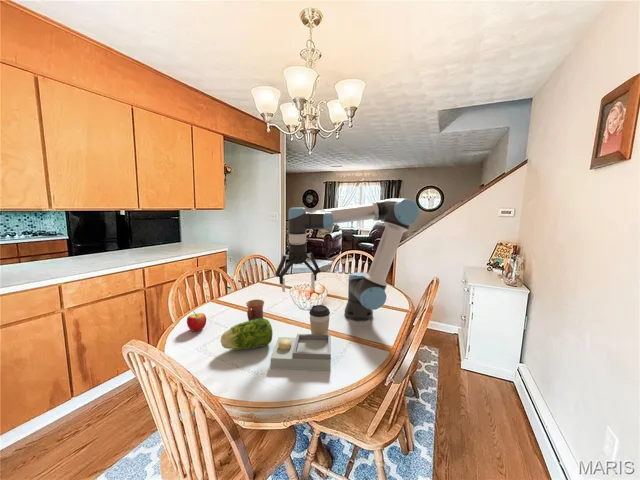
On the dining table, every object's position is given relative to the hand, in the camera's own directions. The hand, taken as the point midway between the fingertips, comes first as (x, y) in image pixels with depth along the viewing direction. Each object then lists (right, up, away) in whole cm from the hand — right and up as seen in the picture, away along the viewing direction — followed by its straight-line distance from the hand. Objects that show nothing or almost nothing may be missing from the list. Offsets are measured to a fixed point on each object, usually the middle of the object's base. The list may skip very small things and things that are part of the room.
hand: (298, 289), depth 119 cm
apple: (-48, -20, +6) cm, 53 cm away
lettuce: (-21, -23, -9) cm, 32 cm away
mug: (-23, -19, +13) cm, 33 cm away
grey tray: (+3, -24, -15) cm, 28 cm away
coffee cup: (+9, -22, -2) cm, 24 cm away
